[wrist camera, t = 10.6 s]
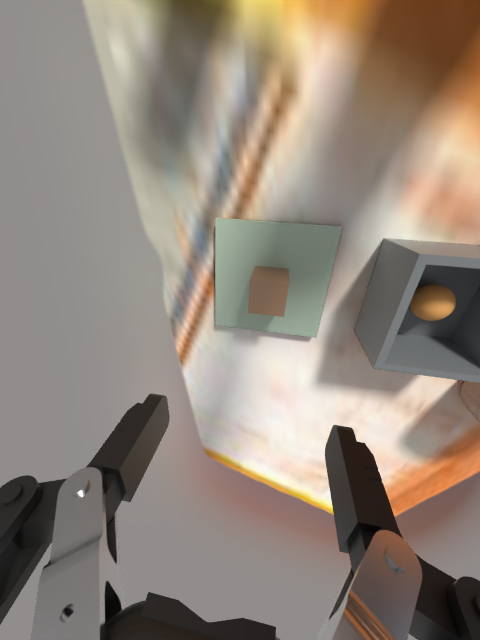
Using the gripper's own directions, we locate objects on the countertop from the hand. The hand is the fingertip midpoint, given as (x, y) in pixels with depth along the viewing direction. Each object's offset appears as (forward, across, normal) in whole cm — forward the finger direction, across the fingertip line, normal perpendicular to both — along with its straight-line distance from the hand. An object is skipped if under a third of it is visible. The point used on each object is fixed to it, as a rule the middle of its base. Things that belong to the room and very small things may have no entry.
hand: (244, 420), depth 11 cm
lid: (+22, 0, 0) cm, 22 cm away
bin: (+22, -18, 0) cm, 28 cm away
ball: (+19, -18, 0) cm, 27 cm away
